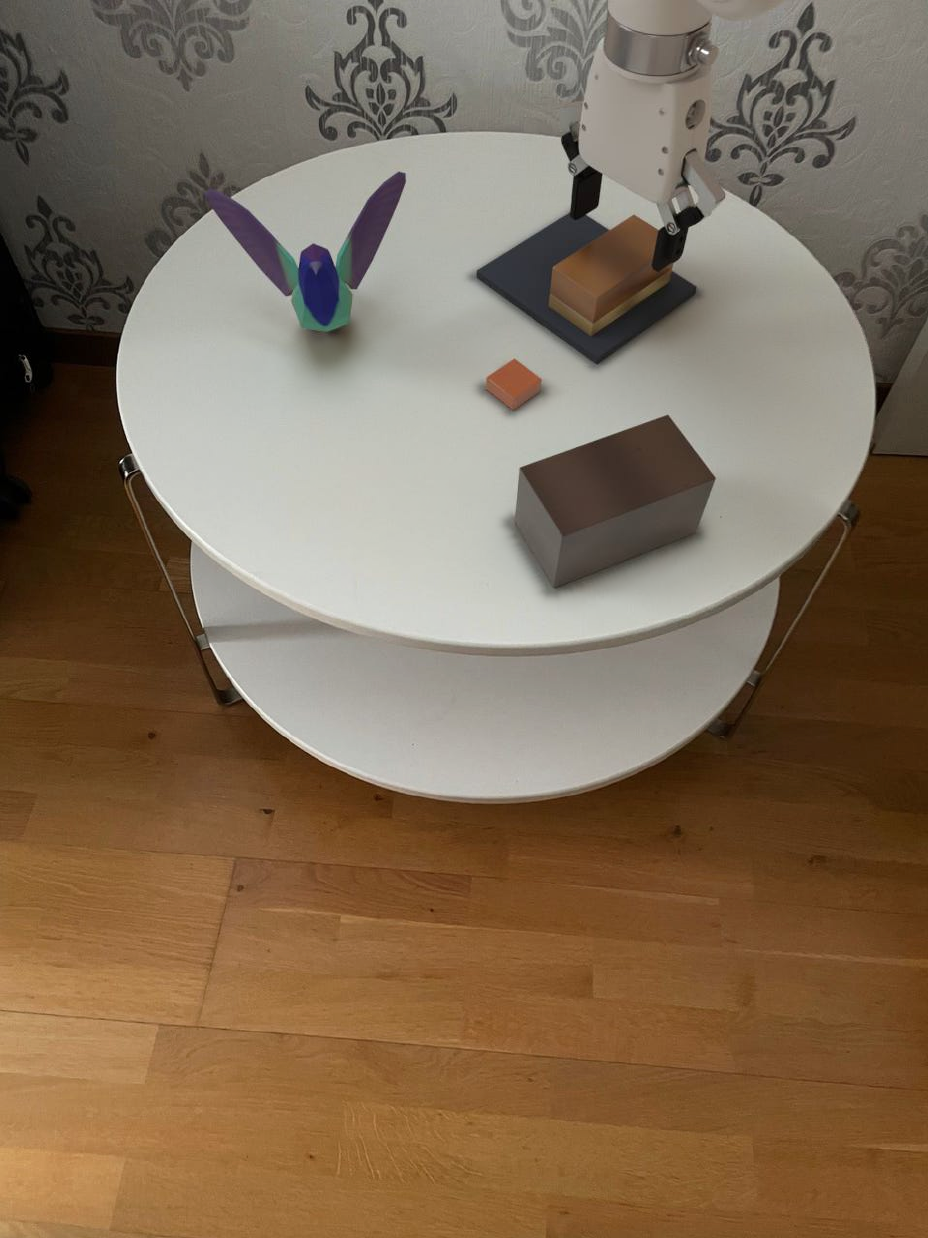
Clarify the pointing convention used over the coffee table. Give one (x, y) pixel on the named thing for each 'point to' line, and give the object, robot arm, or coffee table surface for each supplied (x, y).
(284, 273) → the decorative sculpture
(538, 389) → the orange square block
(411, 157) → the coffee table surface
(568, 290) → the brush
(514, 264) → the mat
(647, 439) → the stand
